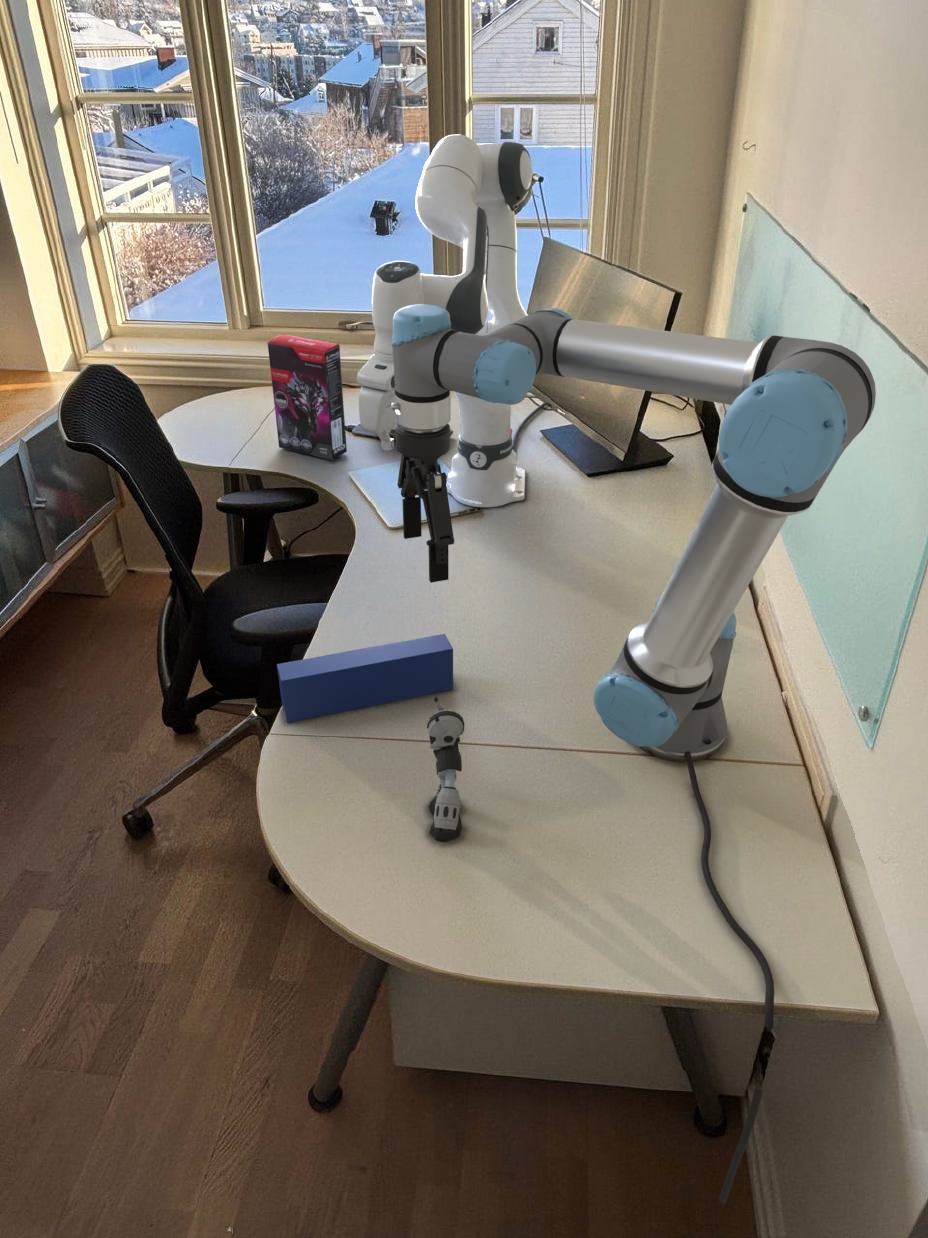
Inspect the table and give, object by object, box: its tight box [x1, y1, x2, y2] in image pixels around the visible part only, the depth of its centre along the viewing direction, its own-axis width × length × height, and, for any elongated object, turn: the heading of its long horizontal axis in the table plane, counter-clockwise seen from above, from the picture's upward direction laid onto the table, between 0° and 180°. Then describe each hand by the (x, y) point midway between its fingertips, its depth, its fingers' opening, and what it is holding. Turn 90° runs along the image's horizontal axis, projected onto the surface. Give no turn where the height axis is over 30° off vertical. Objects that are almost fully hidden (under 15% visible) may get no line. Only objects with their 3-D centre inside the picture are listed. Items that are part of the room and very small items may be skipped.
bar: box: [276, 633, 454, 723], centre depth 147 cm, size 27×4×8 cm, turn 109°
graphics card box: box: [267, 333, 348, 461], centre depth 223 cm, size 17×7×27 cm, turn 62°
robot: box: [425, 696, 465, 842], centre depth 121 cm, size 20×5×20 cm, turn 3°
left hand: (402, 439), depth 166 cm, fingers open, 8 cm apart
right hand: (425, 557), depth 138 cm, fingers open, 13 cm apart
